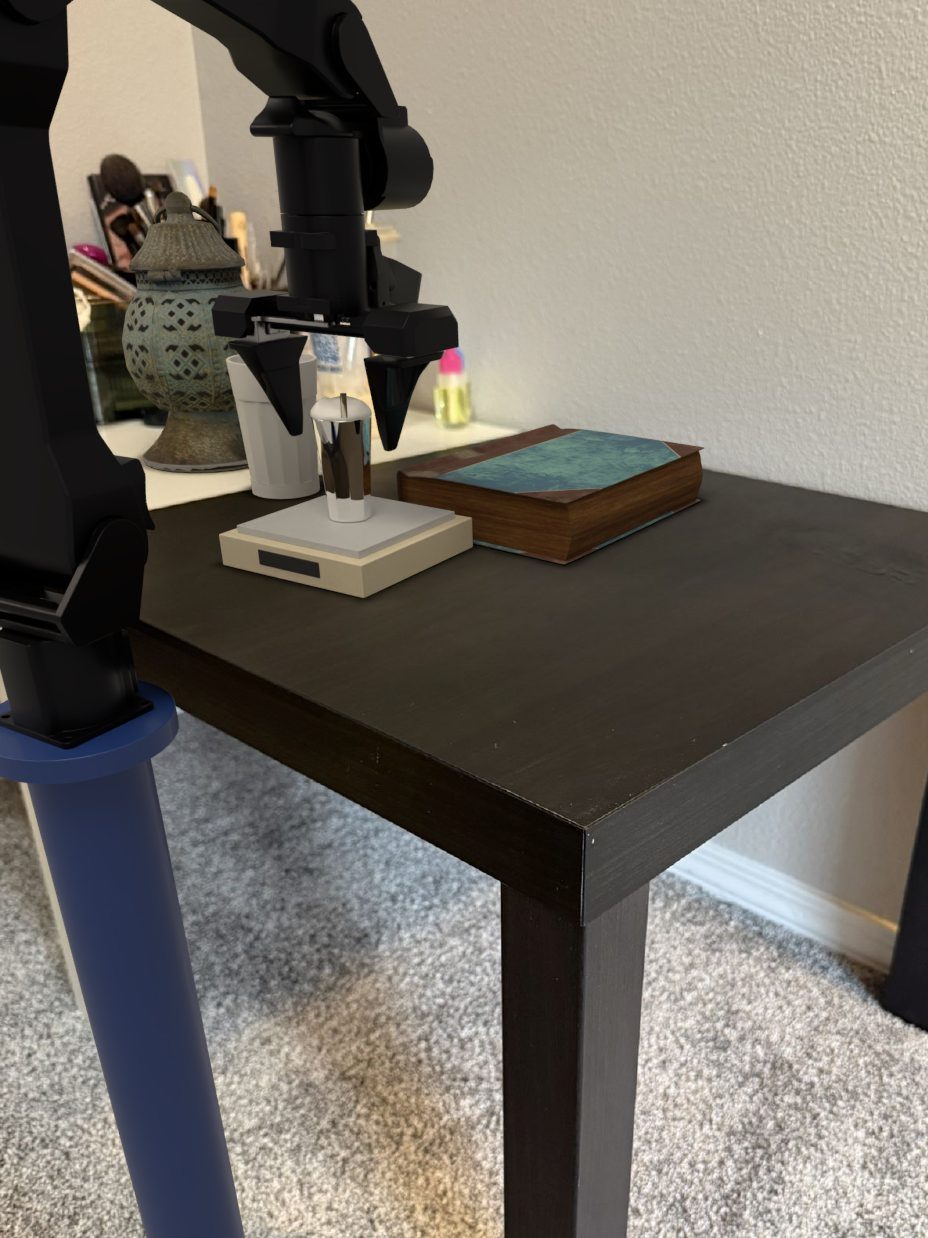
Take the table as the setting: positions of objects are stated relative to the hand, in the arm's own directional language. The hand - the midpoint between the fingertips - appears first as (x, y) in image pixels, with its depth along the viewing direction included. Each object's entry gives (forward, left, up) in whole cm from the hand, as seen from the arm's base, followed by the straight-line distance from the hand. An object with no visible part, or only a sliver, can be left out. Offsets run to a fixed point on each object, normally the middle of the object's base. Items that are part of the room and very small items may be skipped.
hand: (342, 442), depth 83 cm
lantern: (+18, +34, -9) cm, 39 cm away
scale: (0, 0, -9) cm, 9 cm away
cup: (+12, +18, -9) cm, 23 cm away
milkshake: (0, 0, -6) cm, 6 cm away
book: (+19, -8, -9) cm, 22 cm away
